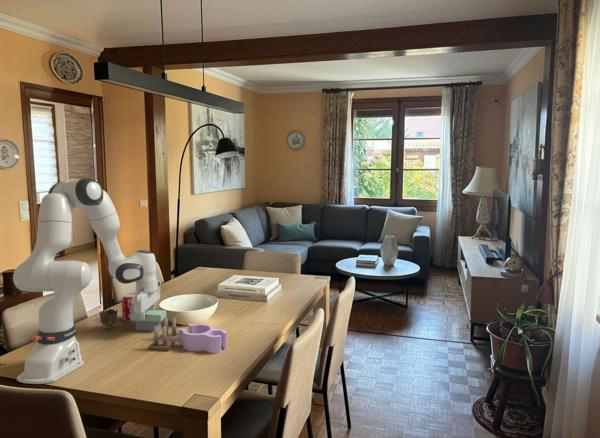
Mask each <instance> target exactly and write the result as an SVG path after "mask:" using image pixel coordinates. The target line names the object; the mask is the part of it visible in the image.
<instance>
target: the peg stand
mask: <svg viewBox="0 0 600 438" xmlns="http://www.w3.org/2000/svg"><path fill="white" fill-rule="evenodd" d="M168 319H169V318H168V317H167V316H166V317H165V318H164V319H163V326H161V332H162V333H161V334H160V335H159V331H158V326H154V331H153V342H152V343H151V344H150V345H149V346H148V351H151V352H152V351H156V352H169V351H170V350H171V348H172V347H173V346H174V345H176V344H177V343H178V342H179V338H178V332H177V321H176V320H177V319H176V317H171V332H169V326H168V325H169V324H168Z"/></svg>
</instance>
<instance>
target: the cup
mask: <svg viewBox="0 0 600 438" xmlns="http://www.w3.org/2000/svg"><path fill="white" fill-rule="evenodd" d="M99 317H100V322H101V324H102V326H104V329H106V330H112V329H114V326H115V324H116V323H117V321H118V309H114V308H113V309H112V308H109V309H105V310H104V309H103V310H101V311H100V312H99Z"/></svg>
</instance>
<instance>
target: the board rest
mask: <svg viewBox="0 0 600 438" xmlns="http://www.w3.org/2000/svg"><path fill="white" fill-rule="evenodd" d="M135 324H136V326H135V327H136V331H142V332H143V331H145V332H146V331H147V332H148V331H149V332H154V326H158V332H160V331H161V330H162V321H161V322H156V321H135Z"/></svg>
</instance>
